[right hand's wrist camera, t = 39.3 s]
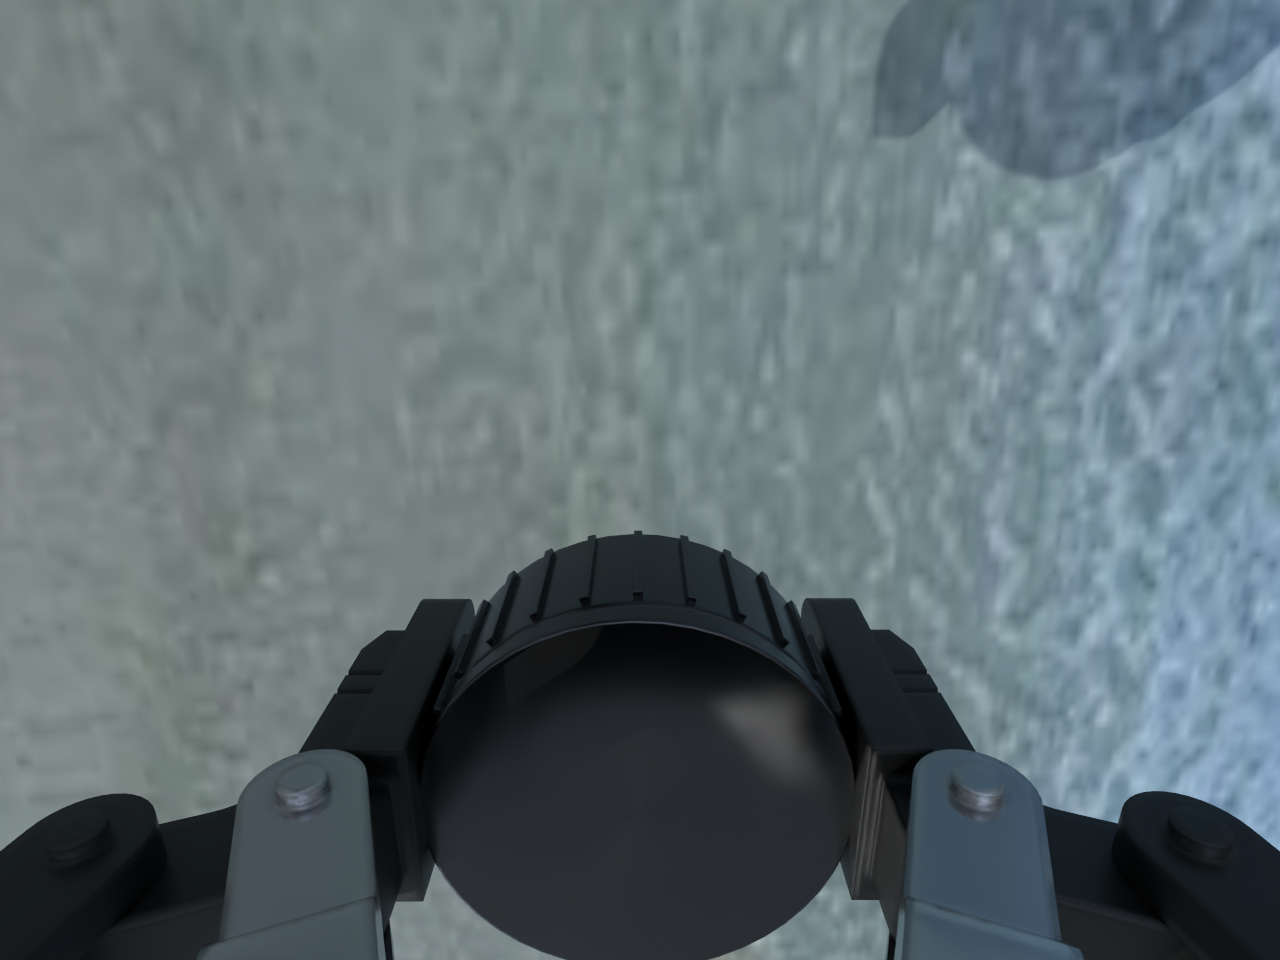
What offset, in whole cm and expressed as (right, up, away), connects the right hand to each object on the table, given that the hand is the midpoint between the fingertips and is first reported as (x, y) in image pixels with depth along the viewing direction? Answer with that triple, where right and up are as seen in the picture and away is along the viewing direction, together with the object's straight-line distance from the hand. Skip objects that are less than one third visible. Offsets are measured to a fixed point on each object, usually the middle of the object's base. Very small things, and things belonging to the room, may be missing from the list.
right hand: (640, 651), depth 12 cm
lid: (0, -1, -3) cm, 3 cm away
